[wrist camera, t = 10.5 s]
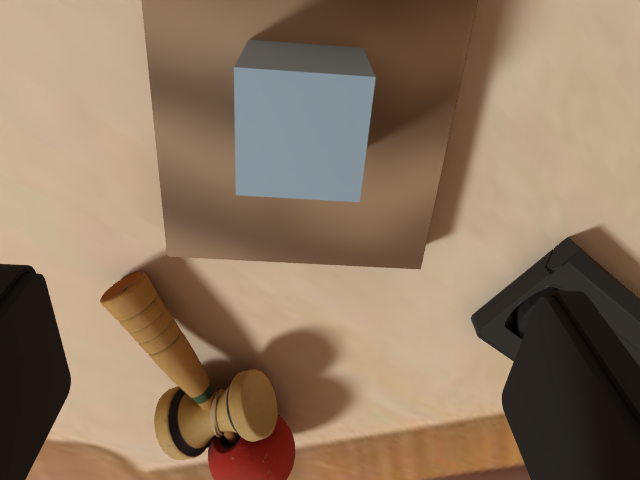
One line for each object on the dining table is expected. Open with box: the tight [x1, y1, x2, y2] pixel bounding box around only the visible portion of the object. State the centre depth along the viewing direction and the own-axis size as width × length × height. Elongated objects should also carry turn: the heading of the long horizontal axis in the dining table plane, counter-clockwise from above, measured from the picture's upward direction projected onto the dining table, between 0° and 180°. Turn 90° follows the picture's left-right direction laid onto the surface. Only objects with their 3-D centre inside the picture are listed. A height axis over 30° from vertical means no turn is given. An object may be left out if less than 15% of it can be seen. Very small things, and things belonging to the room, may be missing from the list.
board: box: [142, 0, 478, 269], centre depth 24 cm, size 18×14×2 cm
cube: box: [234, 40, 376, 202], centre depth 21 cm, size 5×5×5 cm
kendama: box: [100, 271, 295, 480], centre depth 33 cm, size 8×6×18 cm
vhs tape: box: [471, 237, 640, 366], centre depth 34 cm, size 14×8×2 cm, turn 51°
